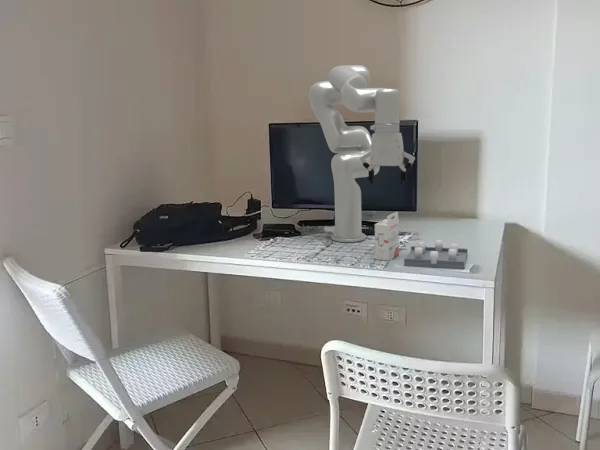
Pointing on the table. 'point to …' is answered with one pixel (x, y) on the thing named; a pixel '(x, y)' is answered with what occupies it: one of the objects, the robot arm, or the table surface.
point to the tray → (440, 258)
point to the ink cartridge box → (387, 238)
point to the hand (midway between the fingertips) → (387, 183)
